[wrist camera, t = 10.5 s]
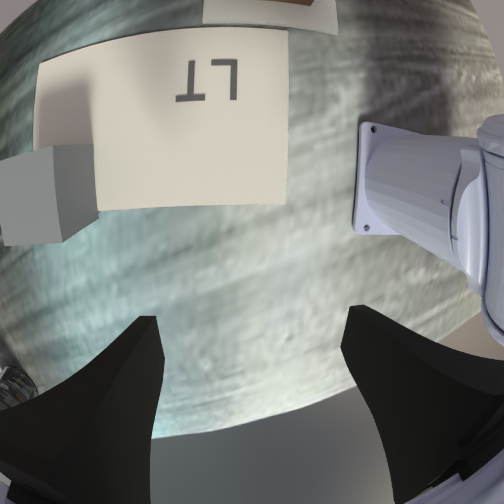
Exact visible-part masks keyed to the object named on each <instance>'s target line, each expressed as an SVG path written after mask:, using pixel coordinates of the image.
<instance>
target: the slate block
mask: <svg viewBox="0 0 504 504" xmlns="http://www.w3.org/2000/svg"><path fill="white" fill-rule="evenodd" d="M97 219H99V216H98V208H97V198H96V186H95V170H94V144H90V145H53V146H49V147H45V148H41V149H38V150H34V151H31V152H27V153H24V154H20V155H17V156H14V157H11V158H8V159H5V160H2V161H0V224H1V230H2V235H3V240H4V245H5V246H14V245H30V244H46V243H63V242H64V241H66V240H67V239H69V238H70V237H71V236H73V235H74V234H76V233H77V232H79V231H80V230H82V229H83V228H85V227H86V226H88V225H89V224H91V223H92V222H94V221H96V220H97Z"/></svg>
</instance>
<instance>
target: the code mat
mask: <svg viewBox="0 0 504 504" xmlns="http://www.w3.org/2000/svg"><path fill="white" fill-rule="evenodd" d="M288 96H289V71H288V31H284V30H275V29H263V28H245V27H207V28H189V29H177V30H168V31H160V32H152V33H146V34H140V35H135V36H129V37H124V38H120V39H115V40H111V41H107V42H103V43H99V44H96V45H92V46H89V47H85V48H82V49H79V50H76V51H73V52H70V53H67V54H64V55H61V56H58V57H56V58H53V59H51V60H48V61H46V62H43V63H41V64H40V65H39V71H38V78H37V86H36V96H35V108H34V131H33V151H34V150H38V149H41V148H45V147H49V146H53V145H90V144H94V170H95V186H96V198H97V208H98V211H106V210H120V209H134V208H150V207H170V206H194V205H232V204H286V189H287V158H288Z"/></svg>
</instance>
